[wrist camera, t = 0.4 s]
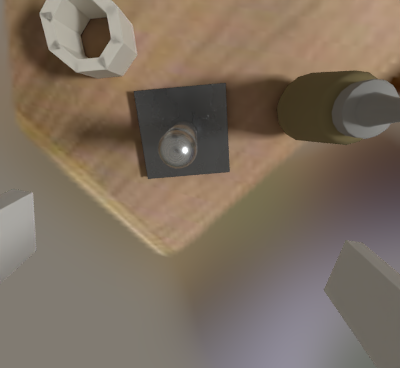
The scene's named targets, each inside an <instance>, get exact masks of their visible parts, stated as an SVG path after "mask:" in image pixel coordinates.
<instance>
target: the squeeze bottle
mask: <svg viewBox="0 0 400 368" xmlns="http://www.w3.org/2000/svg"><path fill="white" fill-rule="evenodd" d="M277 114H278V120H279V124H280V126H281V127H282V129H283V130H284V132H285V133H286V134H287V135H289V136H290V137H292V138H294V139H295V140H302V141H312V142H322V143H333V144H343V145H347V144H351V143H354V142H358V141H360V140H362V139H367V138H370V137H374V136H377V135H379V134H380V133H381V132H383V131H384V130H386V129H387V128H388V127H389V125H390V124H391V123H395V122H400V98H399V95H398V93H397V91H396V89H395V87H394V86H393V85H392V84H390V83H389V82H387V81H386V80H380V79H377V78H376V77H374V76H373V75H372V74H370V73H369V72H362V71H339V72H321V73H310V74H307V75H304V76H300V77H298V78H297V79H295V80H294V81H293V82H292V83H290V84H289V85H288V86H287V87H286V89H285V91H284V92H283V94H282V95H281V97H280V99H279V102H278V107H277Z"/></svg>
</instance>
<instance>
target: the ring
mask: <svg viewBox="0 0 400 368" xmlns="http://www.w3.org/2000/svg"><path fill="white" fill-rule="evenodd" d="M39 14H40V18H41V21H42V25H43V29H44V33H45V37H46V41H47V45H48V48H49V50H50V51H51V52H52V53H53V54H54V55H56V56H57V57H58V58H59V59H61V60H62V61H63V62H64V63H66V64H67V65H68V66H69V67H71V68H72V69H73V70H74V71H75V72H77V73H81V74H84V75H88V76H92V77H95V78H109V77H119V76H123V75H124V74H125V72H126V71H127V70H128V68H129V67H130V65H131V64H132V62H133V61H134V59H135V58H136V56H137V49H136V43H135V36H134V30H133V25H132V24H131V22H130V21H129V20H128V19H127V17H126V16H125V15H124V14H123V12H122V11H121V10H120V8H119V7H118V6H117V5H116V4H115V3H114V2H113V1H112V0H46V2H45V4H44V6H43V7H42V9H41V11H40V13H39ZM105 17H107V18H108V24H109V30H110V35H111V40H110V41H109V43H108V44H107V46H106V48H105V49H104V51H103V52H102V54H101V55H100V57H98V58H88V57H86V56H85V53H84V48H83V44H82V39H81V34H82V32H83V30H84V29H85V27H86V25H87V24H88V22H89V20H90V19H94V18H105Z"/></svg>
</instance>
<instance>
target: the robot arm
mask: <svg viewBox="0 0 400 368" xmlns="http://www.w3.org/2000/svg"><path fill="white" fill-rule="evenodd" d="M34 252H36V237H35V221H34V202H33V192H29V191H23V190H16V189H11V190H9V191H7V192H5V193H3V194H1V195H0V284H1V283H2V282H3V281H4V280H5V279H6V278H7V277H8V276H9V275H10V274H12V273H13V272H14V271H15V270H16V269H17V268H18V267H19V266H20V265H21V264H22V263H24V262H25V261H26V260H27V259H28V258H29V257H30V256H31V255H32V254H33V253H34ZM324 291H325V293H326V294H327V296H328V297H329V298H330V300H331V301H332V303H333V304H334V306H335V307H336V309H337V310H338V312H339V313H340V314H341V316H342V317H343V319H344V320H345V322H346V323H347V325H348V326H349V328H350V329H351V330H352V332H353V333H354V335H355V336H356V338H357V339H358V341H359V342H360V344H361V345H362V347H363V348H364V350H365V351H366V352H367V354H368V355H369V357H370V358H371V360H372V361H373V363H374V364H375V366H376V367H377V368H400V274H399V273H398V272H396V271H395V270H394V269H393V268H392V267H390V266H389V265H388V264H387V263H386V262H384V261H383V260H382V259H381V258H380V257H379V256H377V255H376V254H375V253H374V252H373V251H371V250H370V249H369V248H368V247H366V246H365V245H364V244H363V243H360V242H353V241H347V240H346V241H345V243H344V245H343V248H342V250H341V252H340V255H339V257H338V259H337V261H336V264H335V266H334V268H333V271H332V273H331V275H330V277H329V279H328V282H327V284H326V286H325V288H324Z"/></svg>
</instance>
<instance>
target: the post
mask: <svg viewBox="0 0 400 368" xmlns="http://www.w3.org/2000/svg"><path fill="white" fill-rule="evenodd" d="M134 97H135V103H136V109H137V115H138V121H139V127H140V133H141V139H142V145H143V151H144V157H145V163H146V170H147V176H148V179H153V178H164V177H176V176H187V175H199V174H211V173H222V172H230V169H229V147H228V126H227V104H226V83H219V84H208V85H197V86H186V87H175V88H164V89H153V90H142V91H134Z"/></svg>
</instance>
